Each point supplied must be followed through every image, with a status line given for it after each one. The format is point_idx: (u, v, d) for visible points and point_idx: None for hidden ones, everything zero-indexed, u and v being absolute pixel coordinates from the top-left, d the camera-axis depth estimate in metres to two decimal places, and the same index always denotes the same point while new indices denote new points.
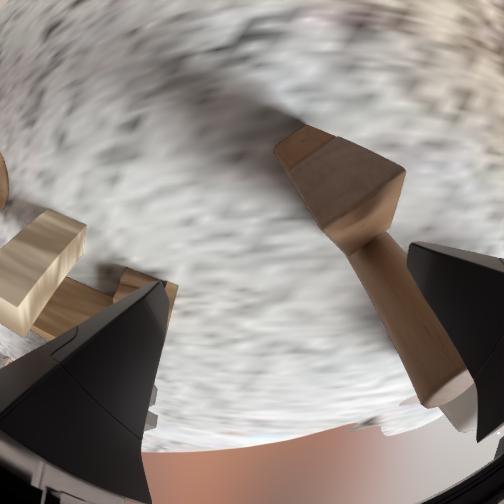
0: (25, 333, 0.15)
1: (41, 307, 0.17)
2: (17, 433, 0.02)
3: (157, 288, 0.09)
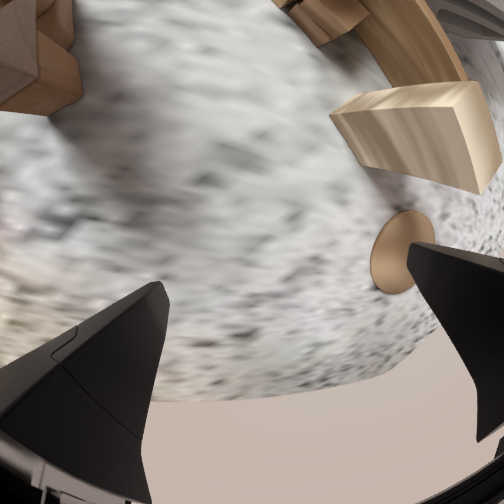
0: (472, 82, 0.08)
1: (433, 85, 0.11)
2: (17, 433, 0.02)
3: (157, 288, 0.09)
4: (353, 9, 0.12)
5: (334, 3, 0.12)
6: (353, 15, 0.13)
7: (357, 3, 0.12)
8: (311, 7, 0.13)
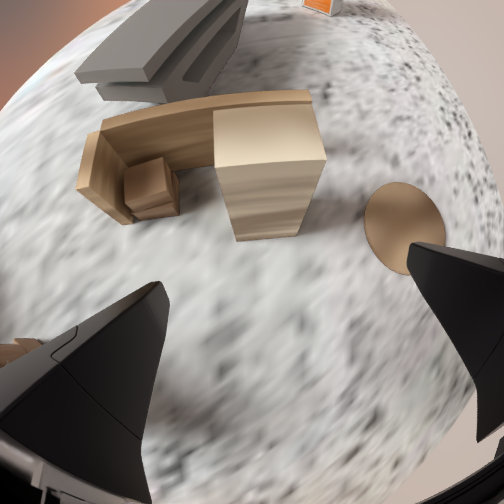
0: None
1: None
2: (17, 433, 0.02)
3: (157, 288, 0.09)
4: (152, 172, 0.21)
5: (140, 186, 0.20)
6: (157, 175, 0.21)
7: (149, 163, 0.21)
8: (137, 205, 0.21)
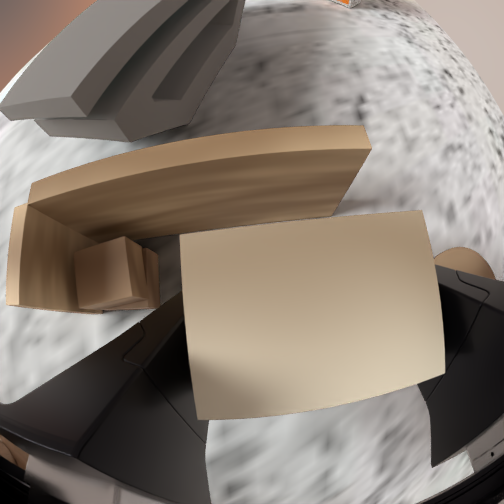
0: None
1: None
2: (99, 461, 0.02)
3: None
4: (110, 261, 0.13)
5: (96, 283, 0.13)
6: (117, 268, 0.13)
7: (107, 246, 0.14)
8: (97, 307, 0.14)
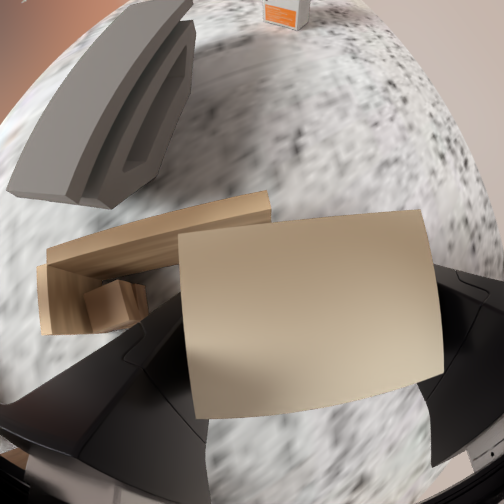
0: None
1: None
2: (99, 461, 0.02)
3: None
4: (111, 298, 0.19)
5: (103, 314, 0.19)
6: (116, 302, 0.19)
7: (107, 287, 0.19)
8: (106, 330, 0.19)
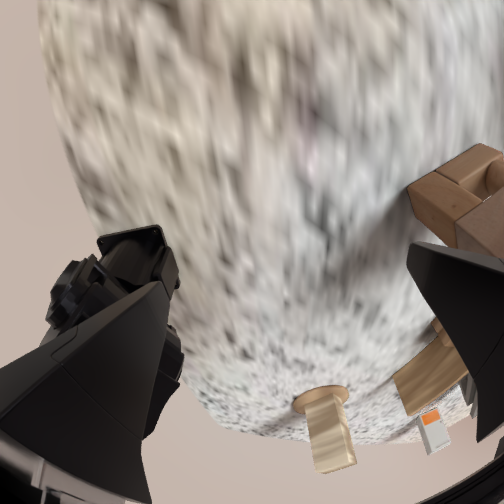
0: (356, 462, 0.28)
1: (352, 445, 0.31)
2: (17, 433, 0.02)
3: (157, 288, 0.09)
4: None
5: None
6: None
7: None
8: None
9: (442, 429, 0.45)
